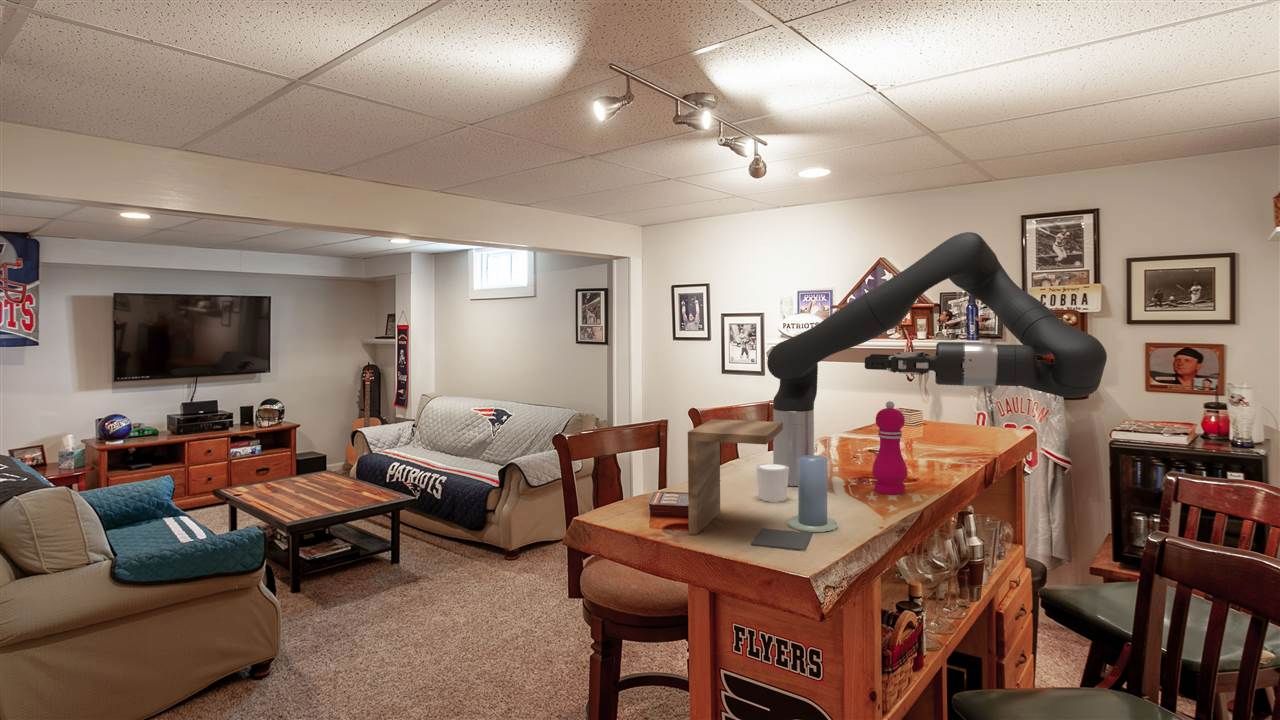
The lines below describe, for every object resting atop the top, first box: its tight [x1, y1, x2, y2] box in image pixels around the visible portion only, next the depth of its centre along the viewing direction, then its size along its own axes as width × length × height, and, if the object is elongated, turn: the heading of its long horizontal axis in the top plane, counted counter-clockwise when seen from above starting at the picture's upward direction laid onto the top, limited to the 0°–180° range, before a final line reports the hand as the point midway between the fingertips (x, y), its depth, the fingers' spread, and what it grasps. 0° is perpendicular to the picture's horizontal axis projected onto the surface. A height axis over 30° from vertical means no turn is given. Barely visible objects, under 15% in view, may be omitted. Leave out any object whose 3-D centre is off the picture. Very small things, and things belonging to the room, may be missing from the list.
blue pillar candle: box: [797, 454, 828, 526], centre depth 123 cm, size 5×5×12 cm
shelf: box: [687, 418, 783, 536], centre depth 124 cm, size 14×16×18 cm
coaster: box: [787, 515, 839, 533], centre depth 124 cm, size 9×9×1 cm
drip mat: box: [750, 527, 813, 551], centre depth 116 cm, size 9×9×1 cm
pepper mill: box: [871, 400, 908, 496], centre depth 146 cm, size 7×7×20 cm
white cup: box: [755, 463, 789, 503], centre depth 142 cm, size 7×7×7 cm
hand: (867, 361), depth 122 cm, fingers open, 8 cm apart
